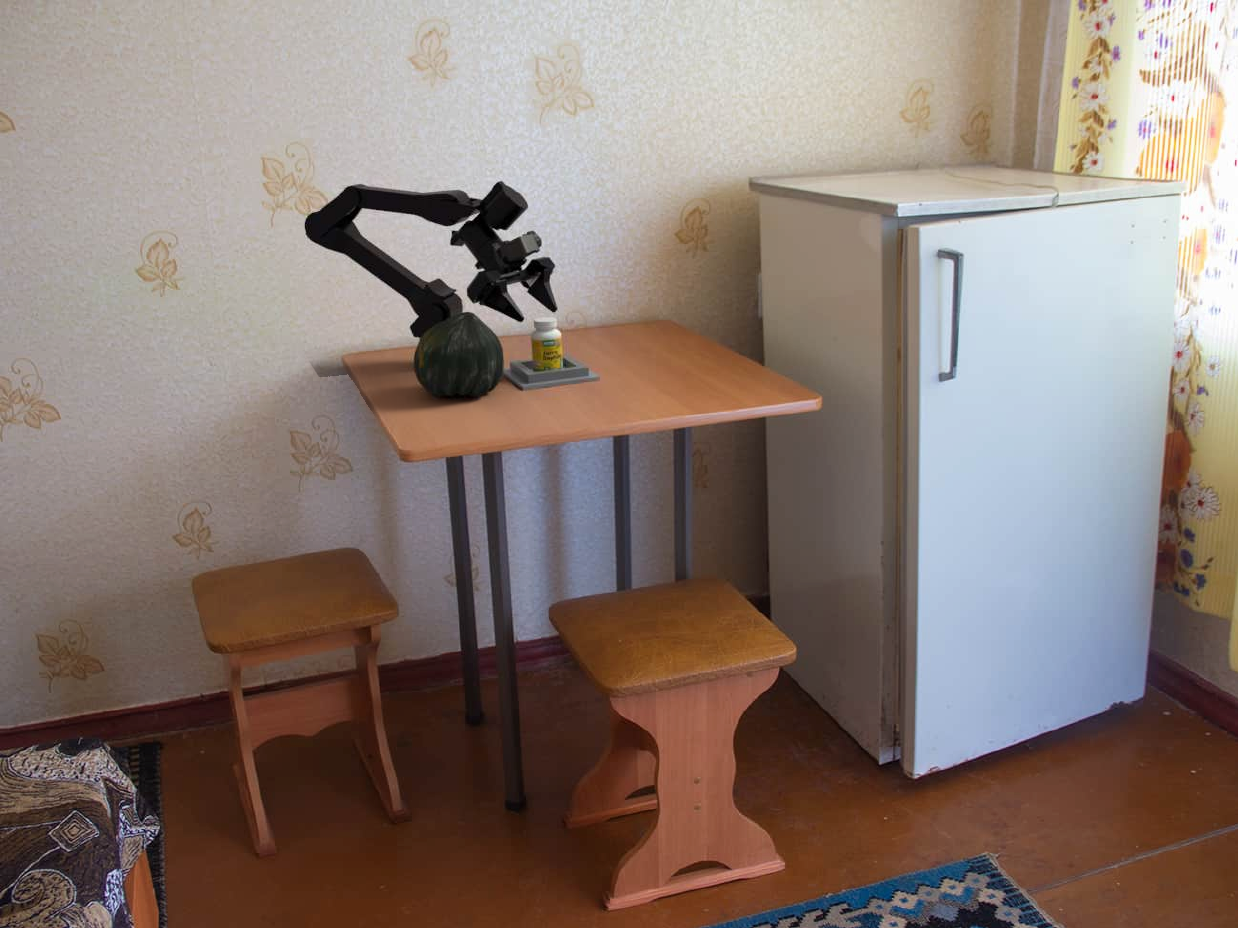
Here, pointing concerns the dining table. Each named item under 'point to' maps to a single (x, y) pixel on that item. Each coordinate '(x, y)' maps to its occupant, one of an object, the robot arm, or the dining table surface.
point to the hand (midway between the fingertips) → (539, 315)
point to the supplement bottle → (546, 345)
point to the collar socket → (548, 374)
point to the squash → (459, 357)
